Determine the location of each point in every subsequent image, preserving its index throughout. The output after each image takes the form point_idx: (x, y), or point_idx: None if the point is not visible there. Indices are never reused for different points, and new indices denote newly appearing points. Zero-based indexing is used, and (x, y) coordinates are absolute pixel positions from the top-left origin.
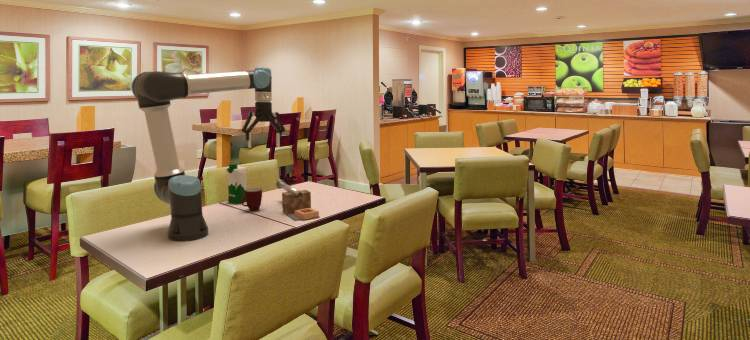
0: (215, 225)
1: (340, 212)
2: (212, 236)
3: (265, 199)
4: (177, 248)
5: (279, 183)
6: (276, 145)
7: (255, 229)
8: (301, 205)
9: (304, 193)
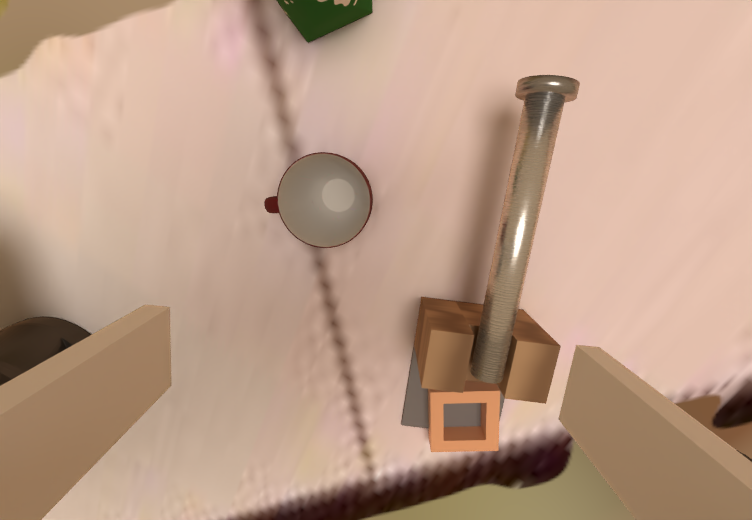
0: None
1: None
2: None
3: (463, 21)
4: None
5: (529, 114)
6: (583, 356)
7: (256, 432)
8: None
9: (513, 397)
